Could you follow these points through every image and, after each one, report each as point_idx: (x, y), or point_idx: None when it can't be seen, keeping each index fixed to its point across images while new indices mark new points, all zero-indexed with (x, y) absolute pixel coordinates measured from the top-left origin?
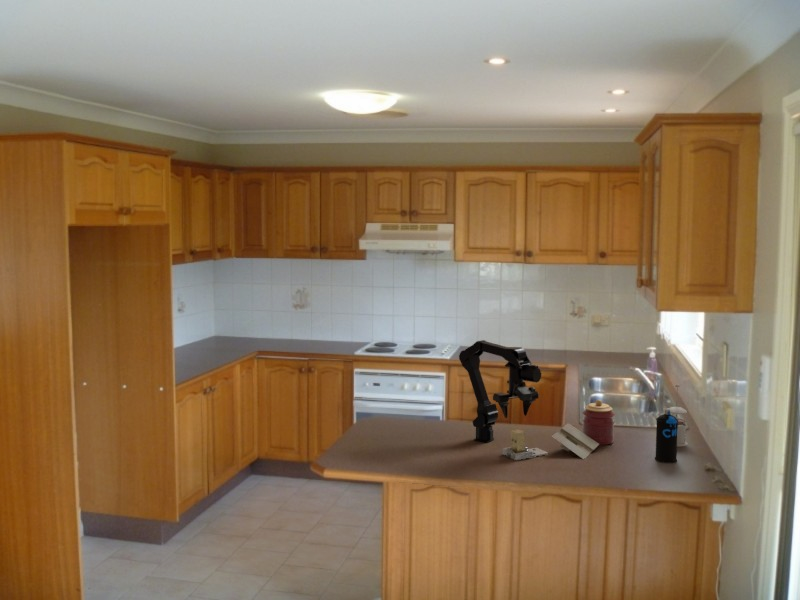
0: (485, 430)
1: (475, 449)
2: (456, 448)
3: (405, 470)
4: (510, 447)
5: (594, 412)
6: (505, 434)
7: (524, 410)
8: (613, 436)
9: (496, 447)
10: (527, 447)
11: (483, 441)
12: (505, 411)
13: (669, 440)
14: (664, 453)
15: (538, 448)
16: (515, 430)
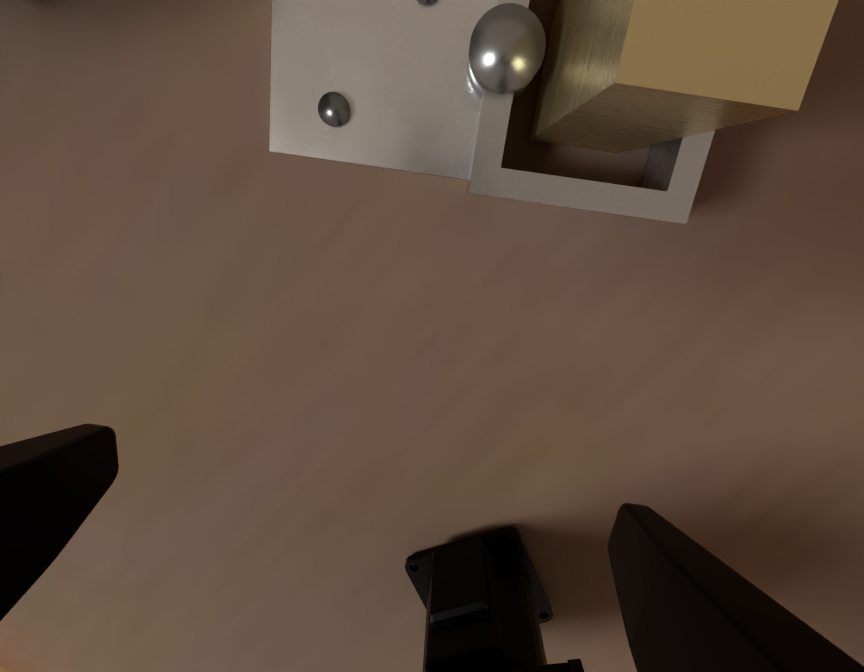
0: (517, 632)
1: (719, 454)
2: (808, 545)
3: None
4: (599, 195)
5: None
6: (249, 595)
7: (8, 552)
8: None
9: (539, 404)
10: (495, 11)
11: (526, 552)
12: (850, 660)
13: None
14: None
15: (270, 118)
16: (731, 52)
